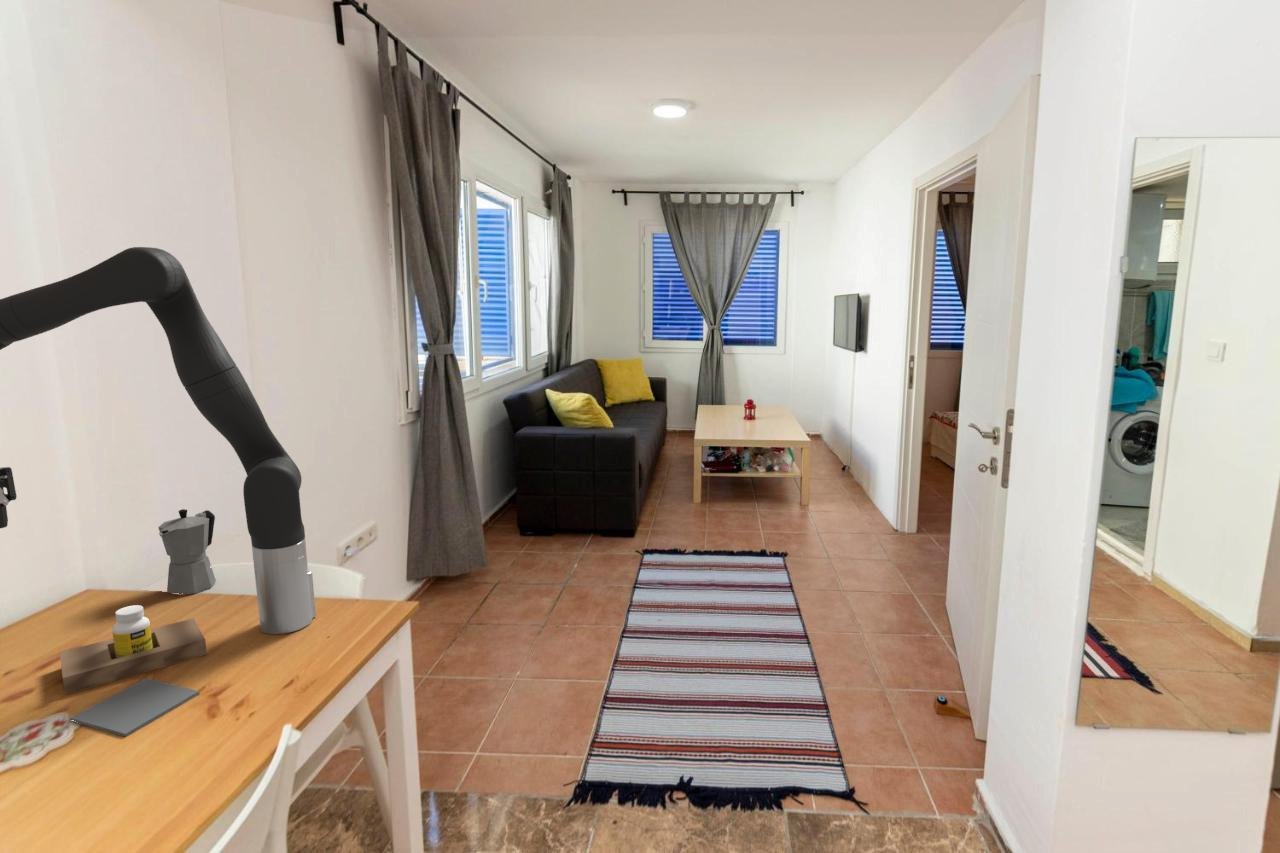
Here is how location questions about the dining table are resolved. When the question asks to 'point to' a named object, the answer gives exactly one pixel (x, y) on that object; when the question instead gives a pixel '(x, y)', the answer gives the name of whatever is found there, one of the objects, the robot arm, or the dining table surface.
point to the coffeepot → (188, 552)
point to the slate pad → (134, 706)
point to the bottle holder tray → (130, 656)
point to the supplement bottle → (131, 631)
